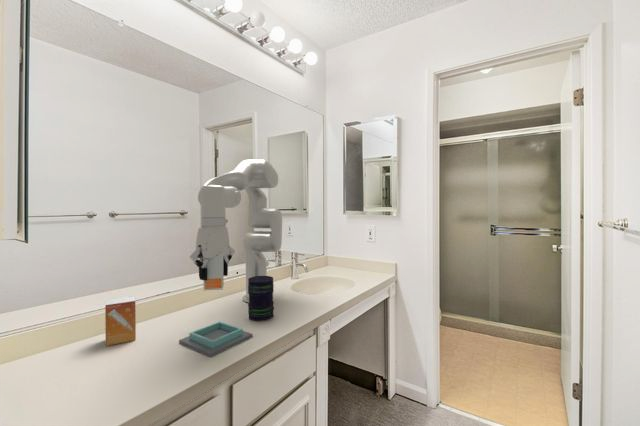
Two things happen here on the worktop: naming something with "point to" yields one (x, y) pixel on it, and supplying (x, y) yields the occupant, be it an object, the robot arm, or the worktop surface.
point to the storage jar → (260, 298)
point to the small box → (120, 320)
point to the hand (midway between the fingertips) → (213, 277)
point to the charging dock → (215, 338)
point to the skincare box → (215, 273)
